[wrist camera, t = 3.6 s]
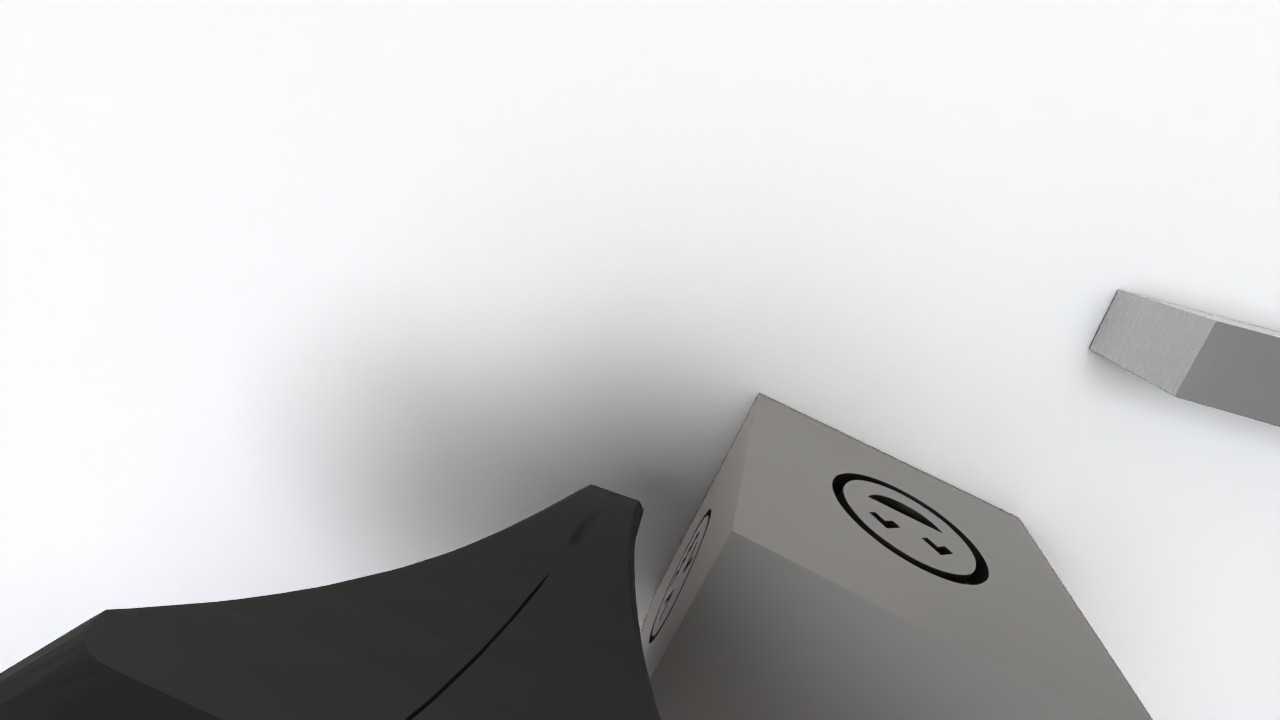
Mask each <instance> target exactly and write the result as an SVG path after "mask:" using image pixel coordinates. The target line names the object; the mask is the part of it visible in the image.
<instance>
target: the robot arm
mask: <svg viewBox="0 0 1280 720" xmlns="http://www.w3.org/2000/svg"><path fill="white" fill-rule="evenodd" d="M642 514H643V508H642V506H641V504H640V502H639V501H637V500H634V499H631V498H628V497H625V496H623V495H620V494H617V493H614V492H611V491H608V490H605V489H603V488H600V487H597V486H594V485H589V486H587V487H585V488H583V489H581V490H579V491H577V492H575V493H574V494H572V495H570V496H568V497H566V498H564V499H563V500H561V501H559V502H557V503H555V504H554V505H552V506H550V507H548V508H546V509H544V510H542V511H540V512H539V513H537V514H535V515H533V516H531V517H529V518H527V519H525V520H523V521H521V522H519V523H517V524H515V525H513V526H511V527H508V528H506V529H504V530H502V531H500V532H498V533H495V534H493V535H491V536H488V537H486V538H484V539H481V540H479V541H477V542H474V543H472V544H470V545H467V546H465V547H462V548H460V549H457V550H454V551H452V552H449V553H446V554H443V555H440V556H437V557H434V558H431V559H428V560H425V561H422V562H418V563H415V564H412V565H409V566H406V567H402V568H398V569H395V570H391V571H387V572H383V573H378V574H374V575H370V576H366V577H361V578H357V579H353V580H348V581H344V582H340V583H336V584H331V585H327V586H321V587H316V588H310V589H305V590H299V591H293V592H287V593H281V594H274V595H267V596H259V597H252V598H245V599H237V600H228V601H219V602H209V603H196V604H183V605H170V606H158V607H145V608H132V609H112V610H105V611H103V612H102V613H100V614H98V615H96V616H95V617H93V618H91V619H89V620H88V621H86V622H84V623H83V624H81V625H79V626H78V627H76V628H74V629H73V630H71V631H70V632H68V633H66V634H65V635H63V636H61V637H60V638H58V639H56V640H55V641H53V642H51V643H50V644H48V645H46V646H45V647H43V648H41V649H40V650H38V651H36V652H35V653H33V654H32V655H30V656H28V657H27V658H25V659H23V660H22V661H20V662H18V663H17V664H15V665H13V666H12V667H10V668H8V669H7V670H5V671H3V672H2V673H0V720H661V718H660V715H659V712H658V709H657V706H656V703H655V699H654V695H653V691H652V687H651V683H650V679H649V675H648V672H647V667H646V662H645V657H644V652H643V648H642V642H641V636H640V629H639V623H638V614H637V605H636V595H635V573H634V550H635V539H636V535H637V532H638V528H639V525H640V521H641V518H642Z"/></svg>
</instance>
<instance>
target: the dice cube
mask: <svg viewBox="0 0 1280 720" xmlns="http://www.w3.org/2000/svg"><path fill="white" fill-rule="evenodd" d="M640 636H641V642H642V648H643V652H644V657H645V662H646V667H647V672H648V675H649V679H650V683H651V687H652V691H653V695H654V699H655V703H656V706H657V709H658V712H659V715H660V718H661V720H1153V719H1152V718H1151V716H1150V715H1149V713H1148V712H1147V710H1146V709H1145V707H1144V706H1143V704H1142V703H1141V701H1140V700H1139V698H1138V697H1137V695H1136V694H1135V692H1134V691H1133V689H1132V688H1131V686H1130V685H1129V683H1128V682H1127V680H1126V678H1125V677H1124V675H1123V674H1122V672H1121V671H1120V669H1119V668H1118V666H1117V665H1116V663H1115V662H1114V660H1113V659H1112V657H1111V656H1110V654H1109V653H1108V651H1107V650H1106V648H1105V647H1104V645H1103V644H1102V642H1101V641H1100V639H1099V638H1098V636H1097V635H1096V633H1095V632H1094V630H1093V629H1092V627H1091V626H1090V624H1089V623H1088V621H1087V620H1086V618H1085V617H1084V615H1083V614H1082V612H1081V611H1080V609H1079V608H1078V606H1077V605H1076V603H1075V602H1074V600H1073V599H1072V597H1071V596H1070V594H1069V593H1068V591H1067V590H1066V588H1065V587H1064V585H1063V583H1062V582H1061V580H1060V579H1059V577H1058V576H1057V574H1056V573H1055V571H1054V570H1053V568H1052V567H1051V565H1050V564H1049V562H1048V561H1047V559H1046V558H1045V556H1044V555H1043V553H1042V552H1041V550H1040V549H1039V547H1038V546H1037V544H1036V543H1035V541H1034V540H1033V538H1032V537H1031V535H1030V534H1029V532H1028V531H1027V529H1026V528H1025V526H1024V525H1023V523H1022V522H1021V520H1020V519H1019V518H1017V517H1015V516H1013V515H1011V514H1009V513H1007V512H1005V511H1003V510H1001V509H999V508H997V507H994V506H992V505H990V504H988V503H986V502H984V501H982V500H980V499H978V498H976V497H974V496H972V495H970V494H967V493H965V492H963V491H961V490H959V489H957V488H955V487H953V486H951V485H949V484H947V483H945V482H943V481H940V480H938V479H936V478H934V477H932V476H930V475H928V474H926V473H924V472H922V471H920V470H918V469H916V468H913V467H911V466H909V465H907V464H905V463H903V462H901V461H899V460H897V459H895V458H893V457H891V456H889V455H886V454H884V453H882V452H880V451H878V450H876V449H874V448H872V447H870V446H868V445H866V444H864V443H862V442H859V441H857V440H855V439H853V438H851V437H849V436H847V435H845V434H843V433H841V432H839V431H837V430H835V429H832V428H830V427H828V426H826V425H824V424H822V423H820V422H818V421H816V420H814V419H812V418H810V417H808V416H805V415H803V414H801V413H799V412H797V411H795V410H793V409H791V408H789V407H787V406H785V405H783V404H781V403H778V402H776V401H774V400H772V399H770V398H768V397H766V396H764V395H762V394H760V393H759V395H758V396H757V398H756V400H755V402H754V404H753V406H752V408H751V410H750V412H749V414H748V416H747V418H746V419H745V421H744V423H743V425H742V427H741V429H740V431H739V433H738V435H737V437H736V439H735V440H734V442H733V444H732V446H731V448H730V450H729V452H728V454H727V456H726V458H725V460H724V462H723V463H722V465H721V467H720V469H719V471H718V473H717V475H716V477H715V479H714V481H713V483H712V485H711V486H710V488H709V490H708V492H707V494H706V496H705V498H704V500H703V502H702V504H701V506H700V508H699V509H698V511H697V513H696V515H695V517H694V519H693V521H692V523H691V525H690V527H689V529H688V531H687V532H686V534H685V536H684V538H683V540H682V542H681V544H680V546H679V548H678V550H677V552H676V553H675V555H674V557H673V559H672V561H671V563H670V565H669V567H668V569H667V571H666V573H665V575H664V576H663V578H662V580H661V582H660V584H659V586H658V588H657V590H656V592H655V594H654V596H653V599H652V602H651V604H650V607H649V610H648V613H647V615H646V618H645V621H644V624H643V627H642V629H641V632H640Z"/></svg>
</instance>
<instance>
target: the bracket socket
mask: <svg viewBox="0 0 1280 720" xmlns="http://www.w3.org/2000/svg"><path fill="white" fill-rule="evenodd" d="M1089 349H1090V350H1092V351H1094V352H1096V353H1098V354H1099V355H1101V356H1103V357H1105V358H1107V359H1108V360H1110V361H1112V362H1114V363H1116V364H1117V365H1119V366H1121V367H1123V368H1124V369H1126V370H1128V371H1130V372H1132V373H1133V374H1135V375H1137V376H1139V377H1141V378H1142V379H1144V380H1146V381H1148V382H1150V383H1151V384H1153V385H1155V386H1157V387H1159V388H1160V389H1162V390H1164V391H1166V392H1168V393H1169V394H1171V395H1173V396H1175V397H1178V398H1182V399H1185V400H1189V401H1192V402H1196V403H1199V404H1203V405H1206V406H1210V407H1213V408H1217V409H1220V410H1224V411H1227V412H1231V413H1234V414H1238V415H1241V416H1245V417H1248V418H1251V419H1255V420H1258V421H1262V422H1265V423H1269V424H1272V425H1276V426H1279V427H1280V332H1277V331H1273V330H1269V329H1265V328H1262V327H1258V326H1254V325H1250V324H1246V323H1243V322H1239V321H1235V320H1231V319H1228V318H1224V317H1220V316H1216V315H1213V314H1209V313H1205V312H1201V311H1198V310H1194V309H1190V308H1186V307H1182V306H1179V305H1175V304H1171V303H1167V302H1164V301H1160V300H1156V299H1152V298H1149V297H1145V296H1141V295H1137V294H1134V293H1130V292H1126V291H1122V290H1118V292H1117V294H1116V296H1115V298H1114V300H1113V302H1112V304H1111V306H1110V308H1109V310H1108V312H1107V314H1106V316H1105V318H1104V320H1103V322H1102V324H1101V326H1100V328H1099V330H1098V332H1097V334H1096V336H1095V338H1094V340H1093V342H1092V344H1091V346H1090V348H1089Z"/></svg>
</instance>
